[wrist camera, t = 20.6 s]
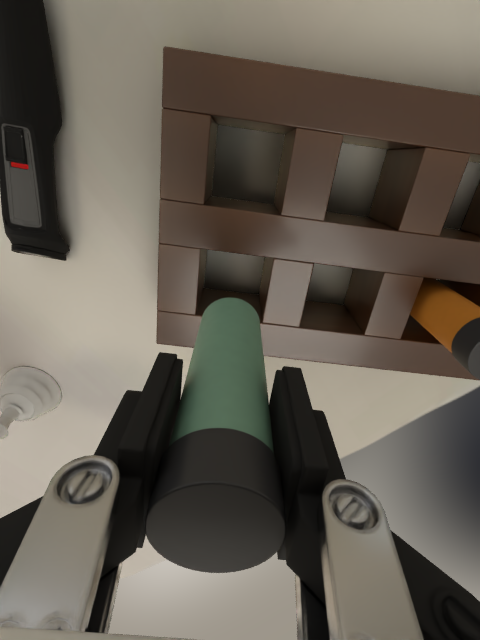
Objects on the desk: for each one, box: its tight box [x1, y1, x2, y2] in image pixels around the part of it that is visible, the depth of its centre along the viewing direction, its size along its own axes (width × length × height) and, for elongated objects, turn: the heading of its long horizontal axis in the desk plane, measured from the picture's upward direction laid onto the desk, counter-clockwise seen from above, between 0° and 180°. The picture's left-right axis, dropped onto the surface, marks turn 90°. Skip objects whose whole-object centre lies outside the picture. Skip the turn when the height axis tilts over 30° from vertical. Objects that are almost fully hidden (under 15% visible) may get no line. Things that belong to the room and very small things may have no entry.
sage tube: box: [145, 298, 287, 573], centre depth 12 cm, size 3×3×10 cm
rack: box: [157, 46, 480, 380], centre depth 21 cm, size 16×22×5 cm
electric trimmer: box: [0, 0, 70, 260], centre depth 20 cm, size 4×16×3 cm, turn 170°
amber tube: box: [410, 277, 480, 380], centre depth 21 cm, size 3×3×10 cm
